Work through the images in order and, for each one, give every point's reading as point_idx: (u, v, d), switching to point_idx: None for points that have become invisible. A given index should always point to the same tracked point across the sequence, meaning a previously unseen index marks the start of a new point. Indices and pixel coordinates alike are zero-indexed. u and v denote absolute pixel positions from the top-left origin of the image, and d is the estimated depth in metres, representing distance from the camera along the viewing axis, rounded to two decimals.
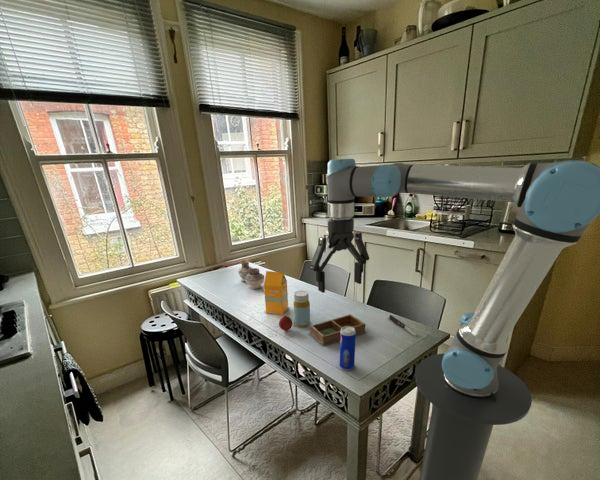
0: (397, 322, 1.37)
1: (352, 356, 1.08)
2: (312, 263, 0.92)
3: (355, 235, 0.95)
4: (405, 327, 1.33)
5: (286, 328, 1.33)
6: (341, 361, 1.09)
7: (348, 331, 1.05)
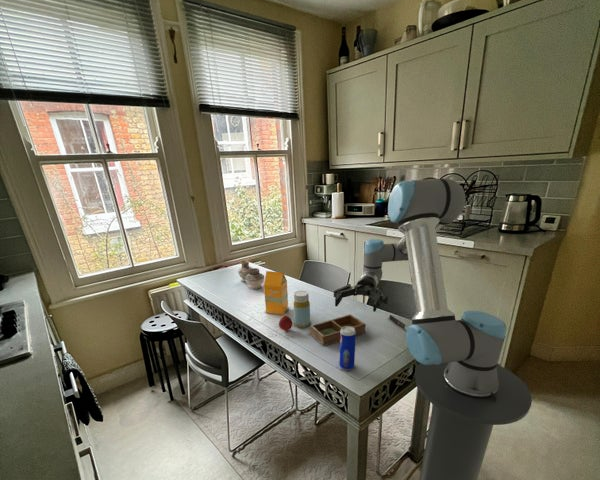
0: (397, 322, 1.37)
1: (352, 356, 1.08)
2: None
3: (377, 289, 1.22)
4: (405, 327, 1.33)
5: (286, 328, 1.33)
6: (341, 361, 1.09)
7: (348, 331, 1.05)
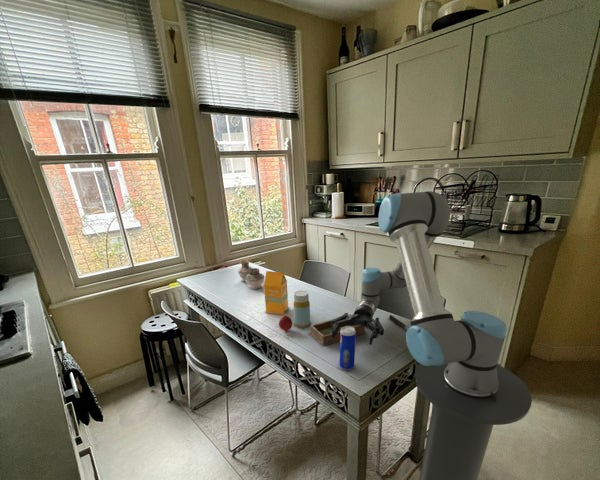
0: (397, 322, 1.37)
1: (352, 356, 1.08)
2: None
3: None
4: (405, 327, 1.33)
5: (286, 328, 1.33)
6: (341, 361, 1.09)
7: (348, 331, 1.05)
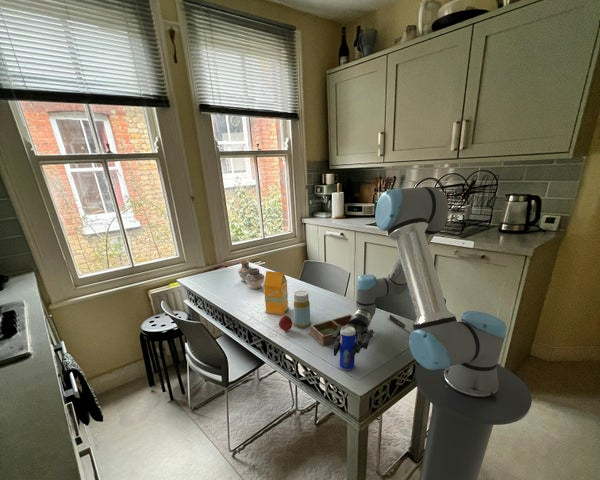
0: (397, 322, 1.37)
1: None
2: None
3: None
4: (405, 327, 1.33)
5: (286, 328, 1.33)
6: (341, 361, 1.09)
7: (348, 331, 1.05)
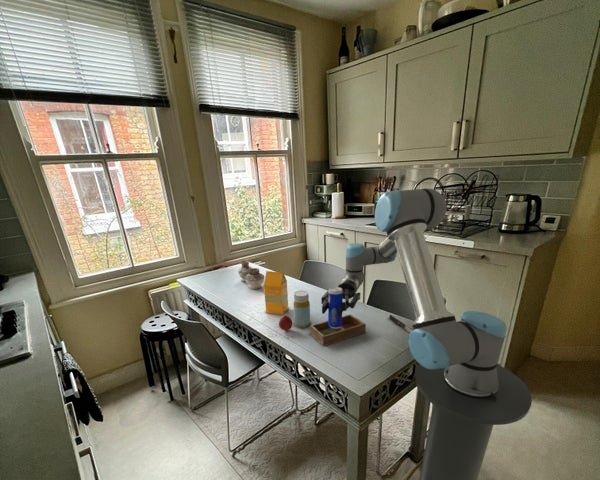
0: (397, 322, 1.37)
1: None
2: None
3: None
4: (405, 327, 1.33)
5: (286, 328, 1.33)
6: (329, 320, 1.17)
7: (335, 290, 1.12)
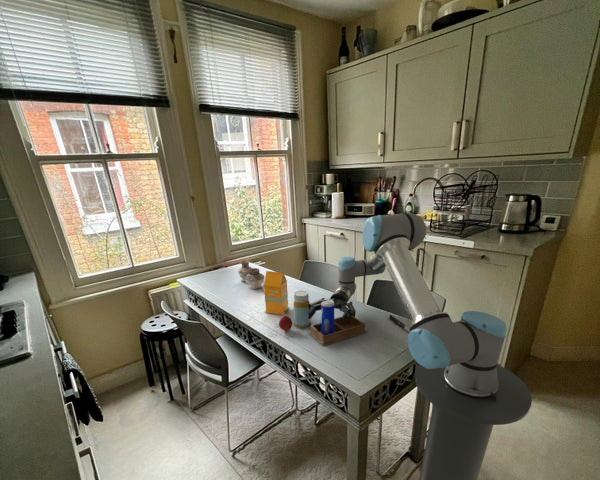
0: (397, 322, 1.37)
1: (331, 325, 1.27)
2: None
3: None
4: (405, 327, 1.33)
5: (286, 328, 1.33)
6: (322, 329, 1.28)
7: (328, 303, 1.24)
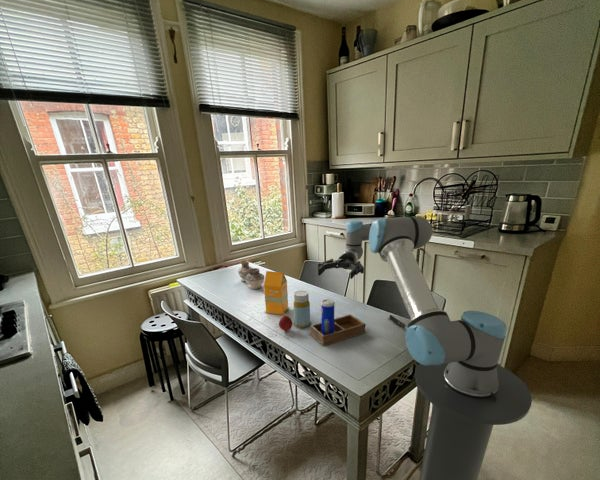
0: (397, 322, 1.37)
1: (331, 325, 1.27)
2: None
3: (356, 262, 1.39)
4: (405, 327, 1.33)
5: (286, 328, 1.33)
6: (322, 329, 1.28)
7: (328, 303, 1.24)
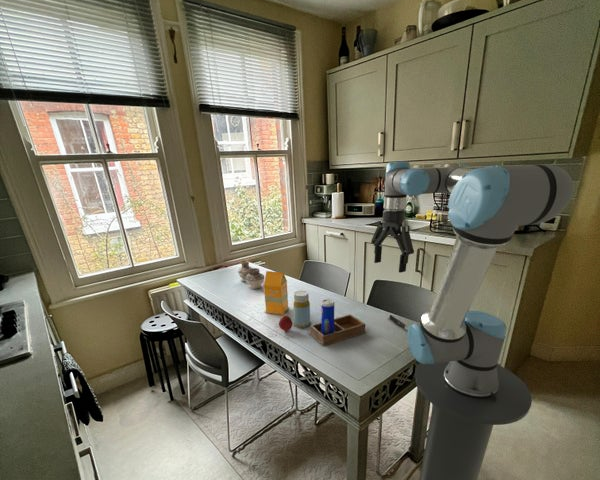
0: (397, 322, 1.37)
1: (331, 325, 1.27)
2: None
3: (402, 228, 1.10)
4: (405, 327, 1.33)
5: (286, 328, 1.33)
6: (322, 329, 1.28)
7: (328, 303, 1.24)
